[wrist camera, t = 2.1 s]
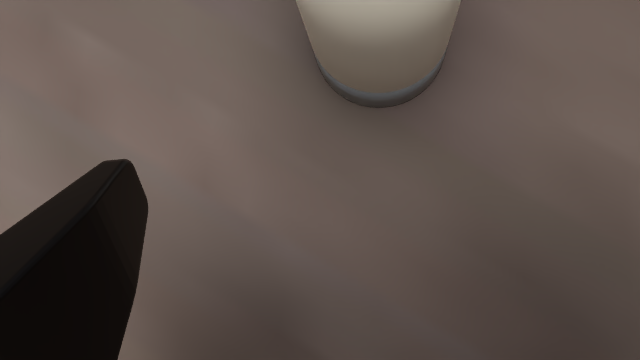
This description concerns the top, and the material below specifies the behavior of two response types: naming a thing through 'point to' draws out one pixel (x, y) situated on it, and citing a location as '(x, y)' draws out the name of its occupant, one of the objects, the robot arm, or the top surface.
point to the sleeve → (379, 45)
